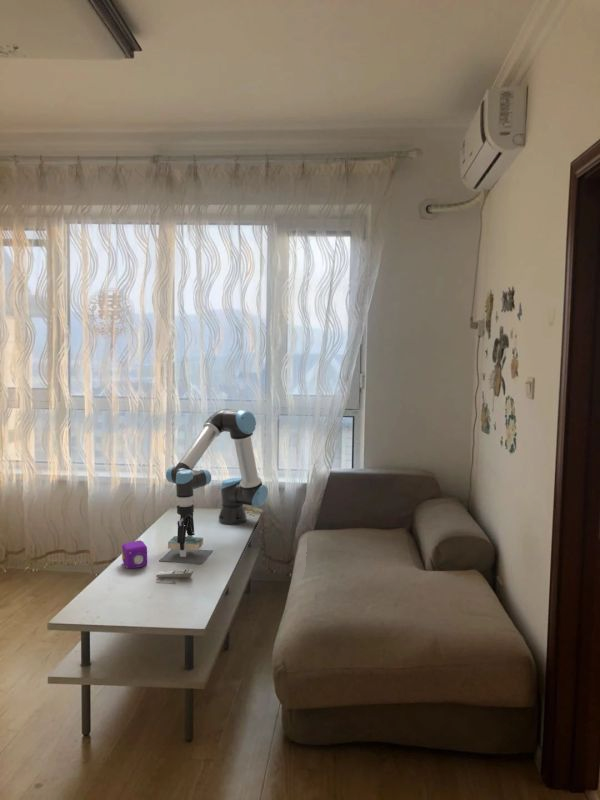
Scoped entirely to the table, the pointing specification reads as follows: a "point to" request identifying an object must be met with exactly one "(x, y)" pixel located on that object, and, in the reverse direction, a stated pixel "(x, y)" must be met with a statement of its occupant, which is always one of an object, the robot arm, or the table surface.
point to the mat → (190, 558)
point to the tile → (191, 543)
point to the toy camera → (134, 554)
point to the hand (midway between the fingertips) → (186, 552)
